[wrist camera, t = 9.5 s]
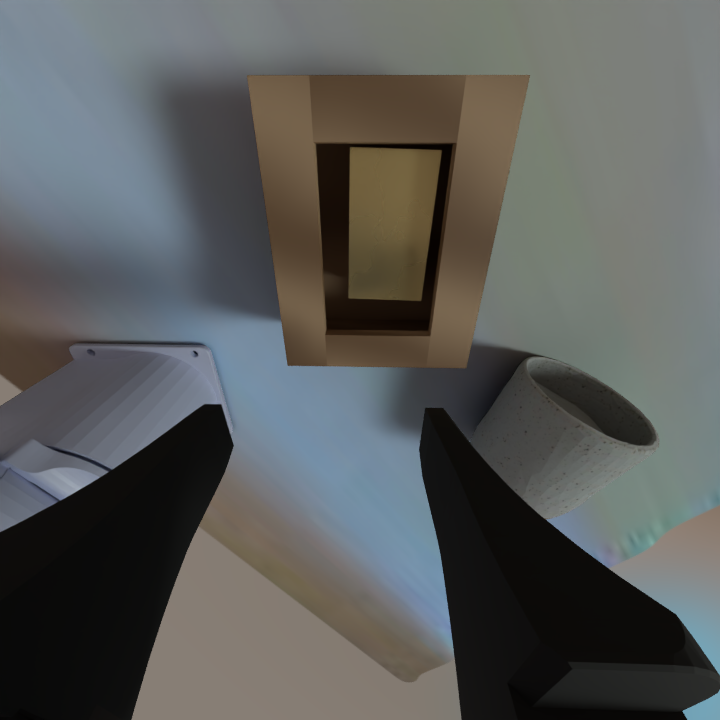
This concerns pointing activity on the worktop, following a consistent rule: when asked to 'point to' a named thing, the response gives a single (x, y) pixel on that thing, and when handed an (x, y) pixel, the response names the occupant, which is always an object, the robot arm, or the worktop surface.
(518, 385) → the ceramic mug
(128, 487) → the robot arm
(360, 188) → the yellow rectangular block
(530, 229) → the worktop surface
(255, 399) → the worktop surface
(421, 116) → the walnut box
